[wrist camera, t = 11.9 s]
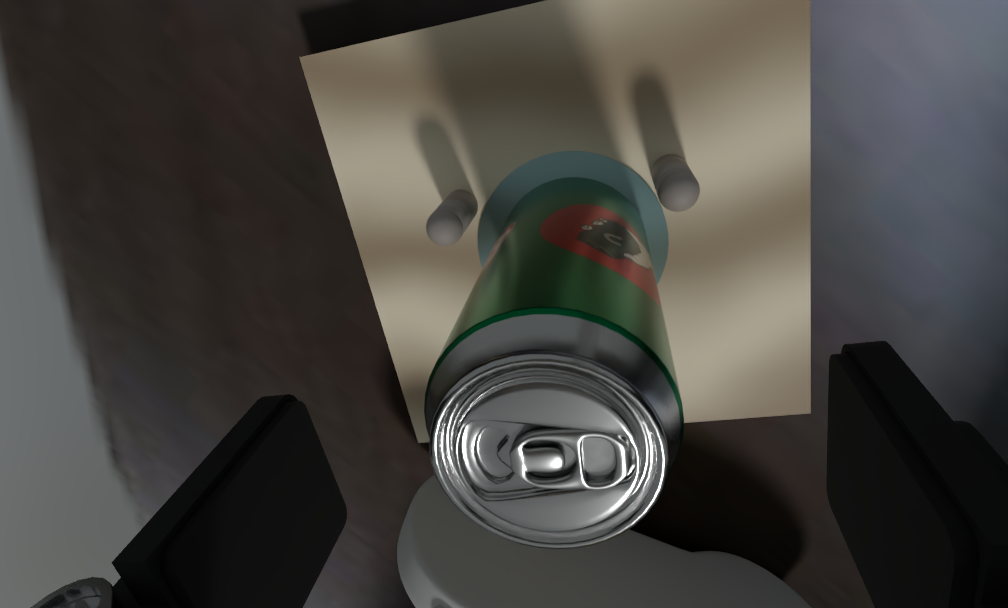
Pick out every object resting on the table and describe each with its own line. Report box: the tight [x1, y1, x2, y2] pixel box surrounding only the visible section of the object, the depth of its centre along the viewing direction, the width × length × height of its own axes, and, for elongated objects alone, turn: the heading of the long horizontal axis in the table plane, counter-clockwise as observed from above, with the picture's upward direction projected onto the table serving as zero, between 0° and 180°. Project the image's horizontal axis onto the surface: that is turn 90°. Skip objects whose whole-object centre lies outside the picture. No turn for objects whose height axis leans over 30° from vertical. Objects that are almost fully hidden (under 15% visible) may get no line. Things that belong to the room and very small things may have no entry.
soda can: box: [424, 177, 684, 549], centre depth 16 cm, size 5×5×12 cm
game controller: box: [397, 474, 811, 608], centre depth 25 cm, size 20×2×8 cm, turn 70°
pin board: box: [299, 0, 811, 443], centre depth 21 cm, size 16×16×5 cm
